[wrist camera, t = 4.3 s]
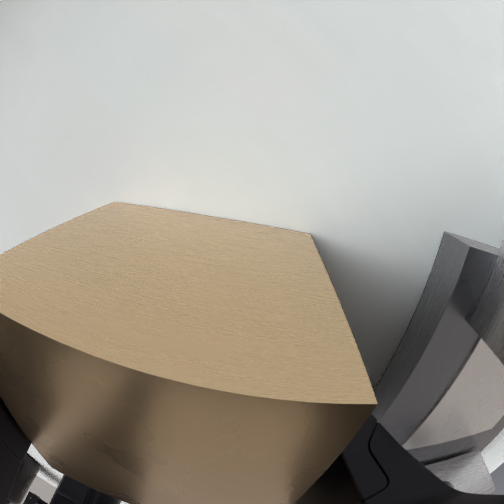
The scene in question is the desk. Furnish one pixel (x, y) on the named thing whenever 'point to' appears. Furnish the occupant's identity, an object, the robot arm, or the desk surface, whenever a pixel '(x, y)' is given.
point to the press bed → (450, 358)
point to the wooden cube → (179, 357)
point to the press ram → (464, 473)
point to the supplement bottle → (23, 480)
